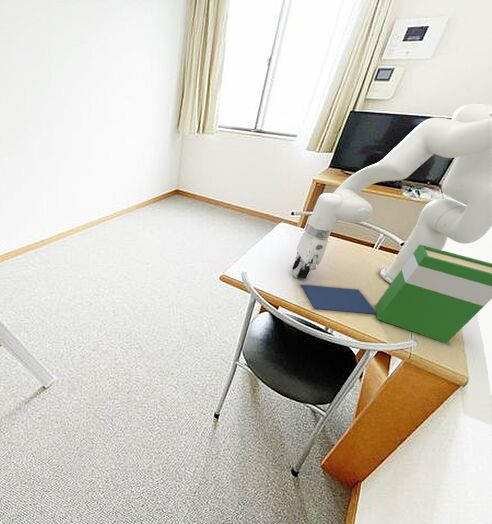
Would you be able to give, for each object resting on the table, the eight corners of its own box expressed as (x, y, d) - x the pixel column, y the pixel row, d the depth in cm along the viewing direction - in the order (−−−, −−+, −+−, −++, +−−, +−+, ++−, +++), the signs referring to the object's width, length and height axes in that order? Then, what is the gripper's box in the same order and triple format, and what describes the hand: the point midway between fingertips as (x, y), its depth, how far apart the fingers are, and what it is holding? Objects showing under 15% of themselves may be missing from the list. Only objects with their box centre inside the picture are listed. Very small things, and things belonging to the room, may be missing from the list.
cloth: (357, 290, 107) (358, 289, 107) (377, 314, 97) (377, 313, 97) (301, 285, 107) (301, 284, 107) (314, 308, 98) (314, 307, 97)
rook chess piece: (291, 277, 111) (299, 259, 107) (291, 270, 115) (298, 253, 110) (304, 280, 110) (313, 262, 105) (303, 273, 114) (312, 256, 109)
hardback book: (440, 327, 94) (499, 265, 80) (446, 343, 88) (510, 279, 75) (375, 305, 100) (419, 244, 86) (377, 319, 95) (424, 256, 81)
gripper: (341, 244, 94) (318, 288, 105) (319, 219, 108) (300, 261, 119) (316, 242, 95) (296, 287, 105) (298, 218, 108) (281, 259, 119)
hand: (299, 273), depth 112 cm, fingers closed on rook chess piece, 4 cm apart
